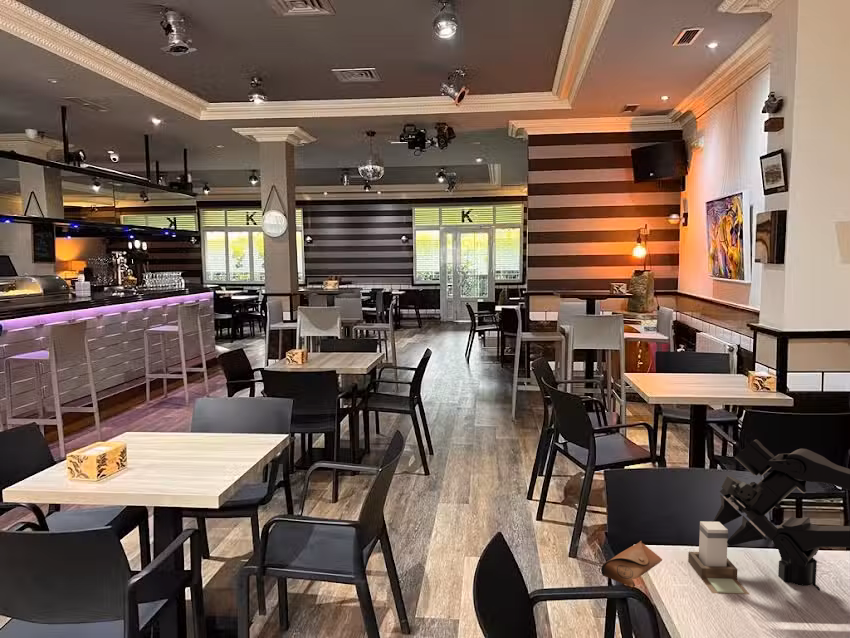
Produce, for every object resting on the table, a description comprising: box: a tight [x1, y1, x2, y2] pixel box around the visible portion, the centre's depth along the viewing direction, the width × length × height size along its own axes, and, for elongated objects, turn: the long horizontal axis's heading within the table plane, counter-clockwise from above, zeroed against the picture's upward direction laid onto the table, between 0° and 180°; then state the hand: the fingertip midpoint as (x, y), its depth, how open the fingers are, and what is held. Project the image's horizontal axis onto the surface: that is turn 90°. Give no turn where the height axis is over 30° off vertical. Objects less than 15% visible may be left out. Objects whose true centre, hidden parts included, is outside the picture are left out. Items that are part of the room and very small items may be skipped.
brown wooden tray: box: [687, 551, 750, 595], centre depth 136 cm, size 8×14×4 cm, turn 176°
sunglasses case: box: [600, 540, 663, 588], centre depth 143 cm, size 18×7×7 cm, turn 133°
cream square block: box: [698, 520, 729, 567], centre depth 139 cm, size 5×5×11 cm
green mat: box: [707, 578, 744, 594], centre depth 132 cm, size 6×6×1 cm
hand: (720, 535), depth 139 cm, fingers open, 9 cm apart
